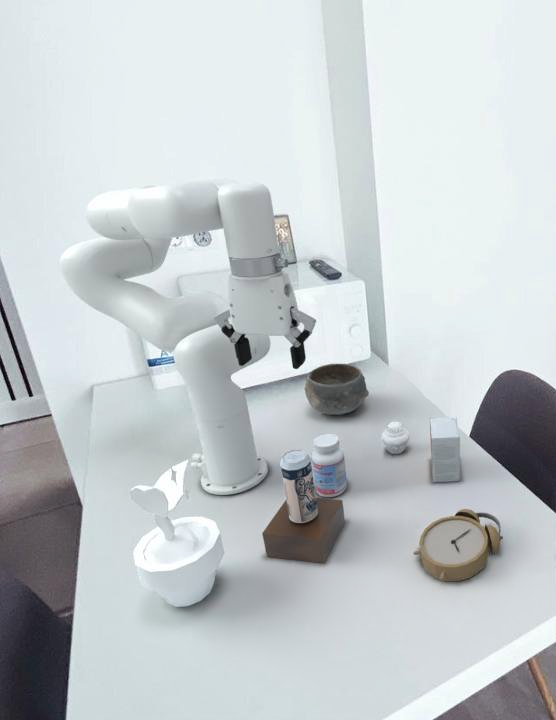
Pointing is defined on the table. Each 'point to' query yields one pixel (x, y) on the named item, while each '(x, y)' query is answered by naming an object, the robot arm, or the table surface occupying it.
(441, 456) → the small box
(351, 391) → the bowl
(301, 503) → the beer can
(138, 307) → the robot arm
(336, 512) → the block
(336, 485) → the pill bottle
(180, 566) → the potted plant
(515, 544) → the table surface
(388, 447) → the muffin
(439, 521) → the alarm clock
